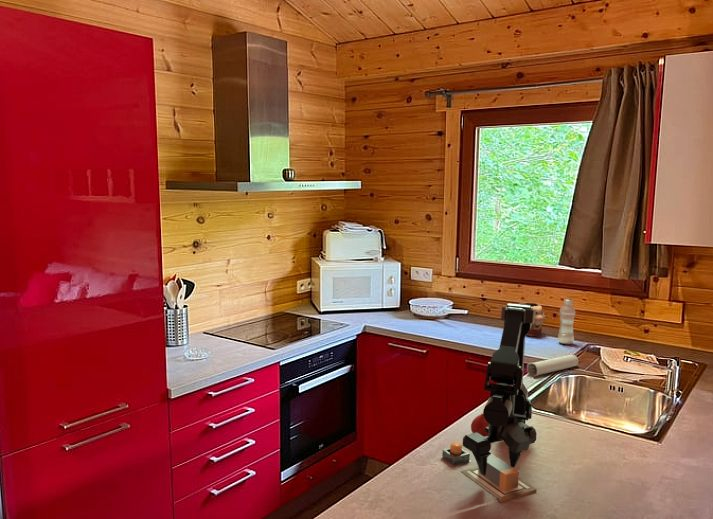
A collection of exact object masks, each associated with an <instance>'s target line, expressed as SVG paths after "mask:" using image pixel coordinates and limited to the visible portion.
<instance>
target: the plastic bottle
mask: <svg viewBox="0 0 713 519" xmlns="http://www.w3.org/2000/svg"><path fill="white" fill-rule="evenodd" d="M573 304H574V299H573V298H568V297H567V298H564V299H563V304H562V306H561V307H560V308H559V320H560V321H559V322H560V323H559V324H560V325H559V330H558V331H559V332H558V334H557V340H558V343H560V344H563V345H572V344H573V343H574V340H575V336H574V320H575V316H576V309H575V307H574V305H573Z"/></svg>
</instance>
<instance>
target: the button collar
mask: <svg viewBox="0 0 713 519" xmlns="http://www.w3.org/2000/svg"><path fill="white" fill-rule="evenodd" d="M441 454H442V455H439V457H440V458H441V459H443V460H444V461H445V462H447V463H448V464H450V466H452V467H456V466H460V465H464V464H469V463H472V462H473V461H472V460H471V457H470V456H471V455H470V454H471V453H470V452H468V451H467V450H465V449H463V448H462V454H461V455H457V456H454V455H452V454H451V453H450V447H448V448H443V449H442V453H441Z"/></svg>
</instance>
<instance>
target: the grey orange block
mask: <svg viewBox="0 0 713 519" xmlns="http://www.w3.org/2000/svg"><path fill="white" fill-rule="evenodd" d="M477 467H478V466H477ZM478 472H479V473H480V474H481V472H480V469H479V467H478ZM483 476H485V477H486V478H487V479H489V480H490V481H492V482H493V483H495V484H496V485H497V486H499V487H500V488H501V489H503V490H504V491H507V490H510V489H514V488H517V487H518V482H519V478H520V470H518V469H517V468H516V467H512V466H511V465H510V464H508V463H507V462H505V461H503V460H502V459H500V458H499V457H497V456H496V455H494V454H492V453H491V454H490V455H489V456H488V457H487V468H486V474H485V475H483Z"/></svg>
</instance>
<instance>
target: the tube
mask: <svg viewBox="0 0 713 519" xmlns="http://www.w3.org/2000/svg"><path fill="white" fill-rule="evenodd" d="M578 364H579V358H578V357H577V355H575V354H568V355H563V356H558V357H555V358H554V357H553V358H550V359H545V360H541V361H535V362H529V363H528V364H526V371H527V374H528V375H529V376H531V377H537V376H541V375H546V374H549V373H550V374H551V373H554V372H557V371H562V370H566V369H570V368H574V367H577V366H578Z"/></svg>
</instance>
